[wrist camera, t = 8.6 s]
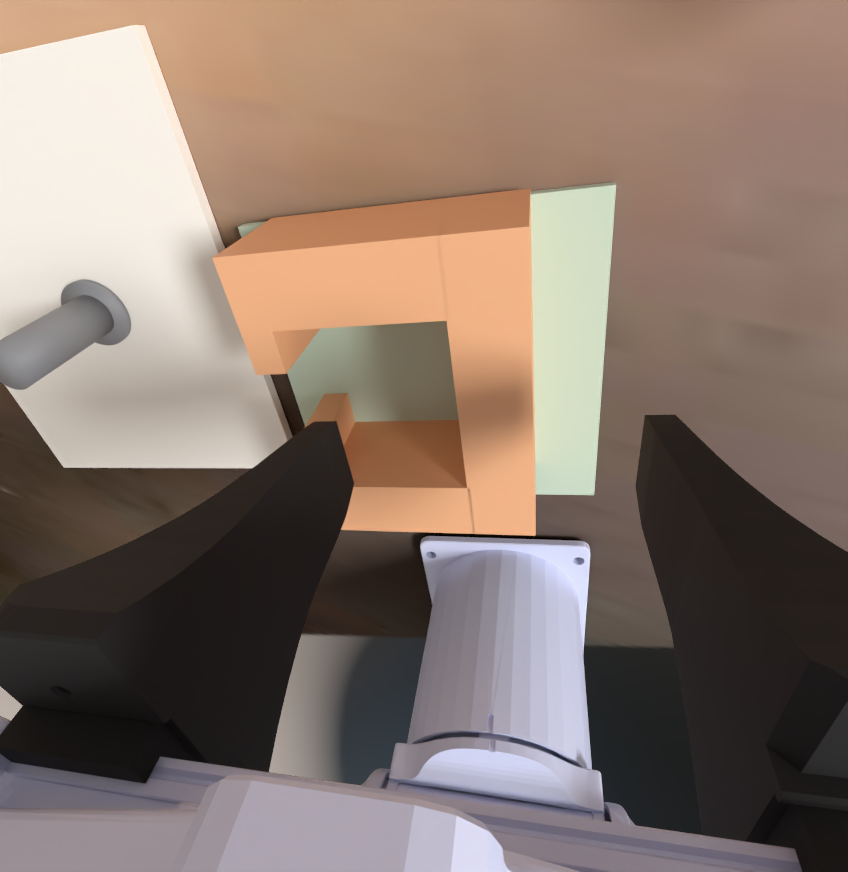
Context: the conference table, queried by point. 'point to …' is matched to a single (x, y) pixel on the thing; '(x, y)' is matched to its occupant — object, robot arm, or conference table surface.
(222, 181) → the conference table surface
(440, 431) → the c link
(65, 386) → the stand
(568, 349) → the mat
